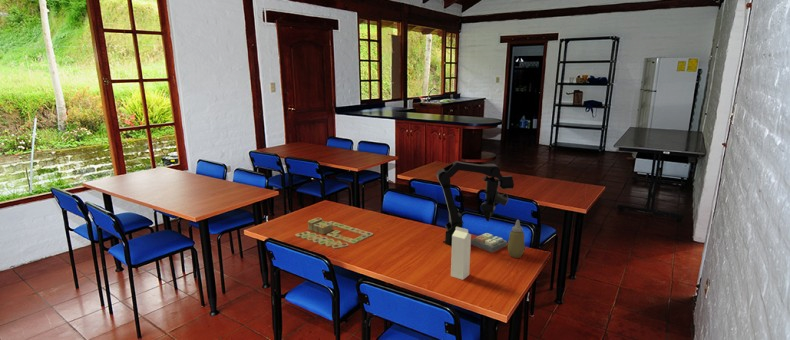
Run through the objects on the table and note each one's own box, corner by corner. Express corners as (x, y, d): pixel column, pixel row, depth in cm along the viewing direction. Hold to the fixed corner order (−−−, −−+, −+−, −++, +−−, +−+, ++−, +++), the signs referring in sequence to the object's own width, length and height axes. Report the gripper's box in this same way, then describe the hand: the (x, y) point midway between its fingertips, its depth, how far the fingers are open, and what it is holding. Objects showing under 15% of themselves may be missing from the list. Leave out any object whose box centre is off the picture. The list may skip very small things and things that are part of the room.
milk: (457, 271, 188) (459, 224, 183) (469, 275, 185) (471, 227, 180) (450, 276, 183) (452, 228, 178) (462, 280, 180) (465, 231, 175)
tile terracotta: (481, 242, 213) (481, 239, 212) (475, 240, 216) (475, 236, 215) (486, 240, 215) (486, 237, 215) (480, 238, 218) (480, 234, 218)
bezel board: (492, 252, 207) (492, 247, 206) (470, 244, 216) (470, 239, 216) (506, 245, 215) (507, 241, 214) (485, 238, 224) (485, 233, 224)
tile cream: (491, 246, 208) (491, 242, 208) (484, 244, 211) (485, 240, 211) (496, 244, 211) (496, 240, 210) (489, 242, 214) (489, 238, 213)
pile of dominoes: (292, 236, 228) (292, 227, 227) (328, 222, 249) (327, 213, 248) (340, 252, 208) (339, 242, 207) (374, 235, 230) (374, 225, 228)
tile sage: (487, 240, 216) (488, 236, 216) (481, 237, 219) (481, 234, 219) (492, 238, 219) (492, 234, 218) (486, 236, 222) (486, 232, 221)
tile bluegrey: (497, 243, 212) (498, 240, 211) (491, 241, 215) (491, 237, 214) (502, 241, 214) (502, 238, 214) (495, 239, 217) (496, 235, 217)
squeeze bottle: (515, 260, 199) (517, 224, 194) (503, 253, 206) (505, 218, 201) (527, 256, 202) (530, 221, 198) (515, 250, 209) (518, 216, 205)
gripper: (504, 196, 201) (502, 226, 205) (511, 186, 218) (508, 215, 222) (481, 193, 206) (479, 223, 210) (489, 183, 222) (487, 212, 226)
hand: (489, 218), depth 217 cm, fingers open, 9 cm apart
